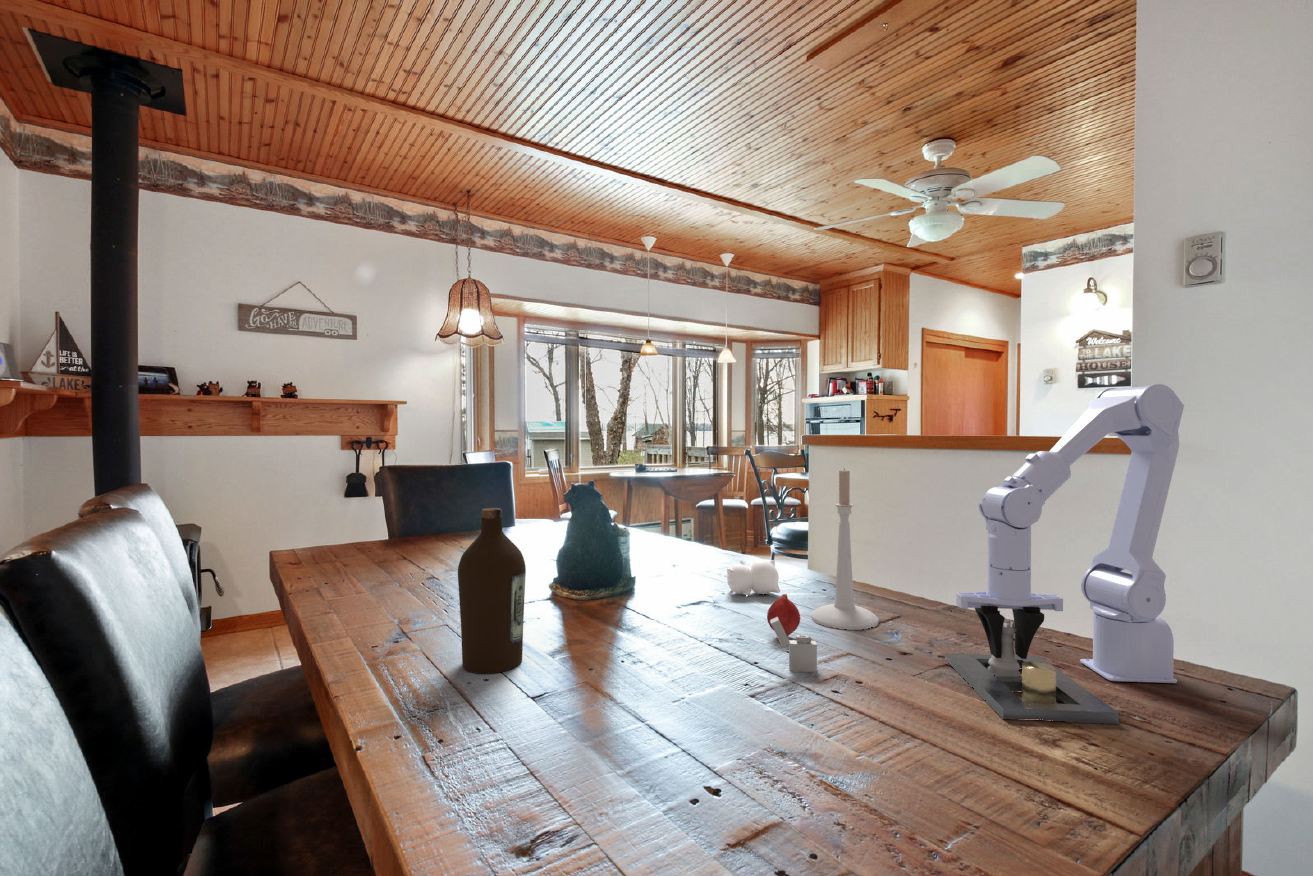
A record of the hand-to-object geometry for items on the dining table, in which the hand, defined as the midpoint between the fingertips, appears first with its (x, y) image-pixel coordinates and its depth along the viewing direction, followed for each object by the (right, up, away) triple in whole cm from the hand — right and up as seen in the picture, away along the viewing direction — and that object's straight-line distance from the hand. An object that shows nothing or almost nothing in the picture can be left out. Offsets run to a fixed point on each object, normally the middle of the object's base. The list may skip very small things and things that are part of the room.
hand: (1008, 656), depth 95 cm
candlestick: (-16, -3, +29) cm, 34 cm away
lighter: (-32, -4, +4) cm, 32 cm away
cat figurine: (-31, -3, +50) cm, 59 cm away
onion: (-30, -3, +19) cm, 36 cm away
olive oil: (-80, -4, +7) cm, 80 cm away
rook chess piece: (0, -3, +1) cm, 4 cm away
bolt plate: (0, -3, -4) cm, 6 cm away
